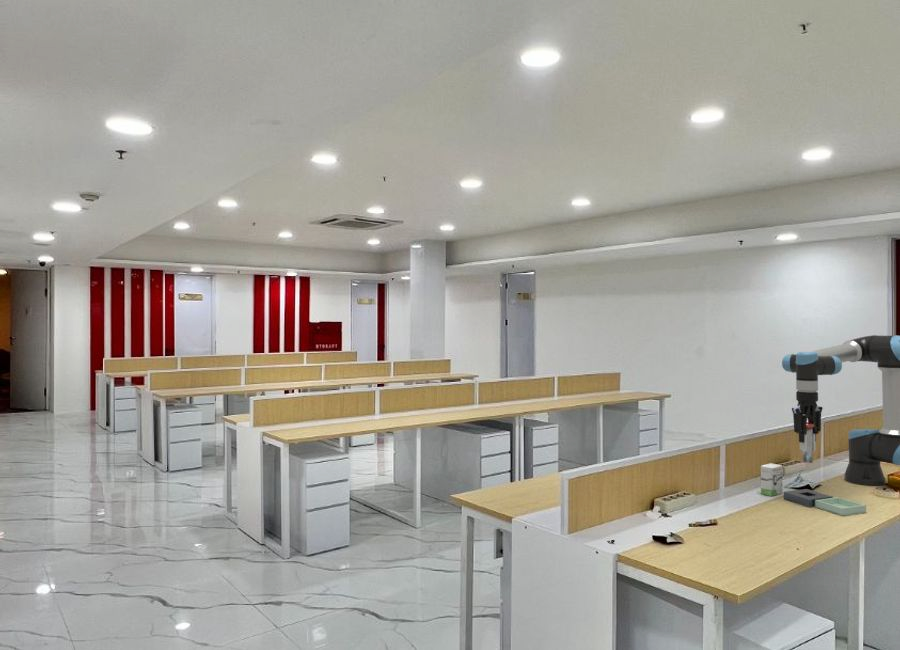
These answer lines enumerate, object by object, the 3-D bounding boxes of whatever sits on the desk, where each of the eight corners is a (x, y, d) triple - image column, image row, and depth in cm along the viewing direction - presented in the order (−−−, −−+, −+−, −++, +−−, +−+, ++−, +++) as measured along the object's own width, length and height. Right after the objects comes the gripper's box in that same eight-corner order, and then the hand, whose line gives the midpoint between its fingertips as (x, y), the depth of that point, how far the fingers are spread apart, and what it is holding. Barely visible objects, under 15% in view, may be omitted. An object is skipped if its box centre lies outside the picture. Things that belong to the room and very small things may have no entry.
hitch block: (806, 496, 256) (806, 488, 256) (833, 504, 245) (832, 496, 245) (783, 499, 253) (783, 491, 253) (809, 507, 241) (809, 499, 241)
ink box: (772, 496, 256) (771, 467, 256) (760, 494, 261) (760, 465, 260) (783, 493, 261) (782, 465, 261) (771, 490, 265) (771, 462, 265)
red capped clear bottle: (807, 460, 252) (806, 422, 252) (817, 462, 247) (817, 423, 247) (797, 461, 250) (797, 422, 250) (808, 463, 246) (807, 424, 246)
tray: (838, 504, 245) (838, 497, 245) (866, 512, 234) (866, 505, 234) (815, 507, 241) (815, 500, 241) (842, 516, 230) (842, 508, 230)
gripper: (815, 389, 255) (815, 446, 255) (782, 391, 250) (783, 450, 250) (831, 390, 248) (832, 450, 248) (798, 393, 242) (799, 453, 243)
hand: (807, 450), depth 249 cm, fingers closed on red capped clear bottle, 3 cm apart
